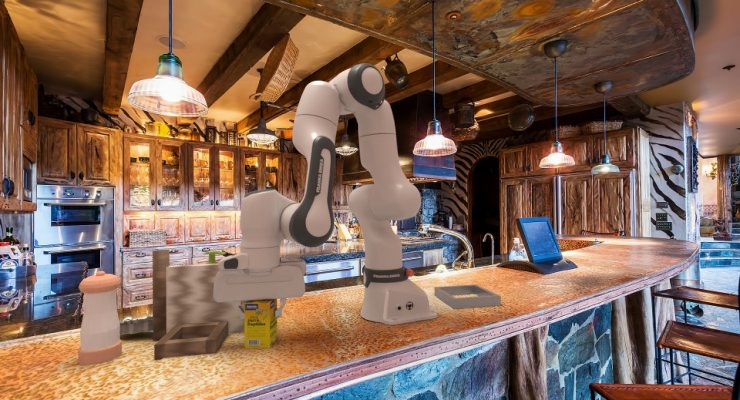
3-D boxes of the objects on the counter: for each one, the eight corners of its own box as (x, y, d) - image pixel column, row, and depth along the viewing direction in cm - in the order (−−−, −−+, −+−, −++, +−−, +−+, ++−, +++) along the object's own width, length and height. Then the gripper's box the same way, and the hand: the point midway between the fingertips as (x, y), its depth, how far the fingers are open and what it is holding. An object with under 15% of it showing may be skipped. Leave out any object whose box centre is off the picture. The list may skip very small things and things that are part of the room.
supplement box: (270, 352, 75) (270, 303, 75) (243, 352, 75) (243, 303, 75) (278, 341, 81) (277, 295, 81) (253, 341, 81) (252, 296, 81)
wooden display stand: (270, 328, 90) (269, 245, 90) (263, 354, 74) (262, 254, 75) (156, 337, 85) (156, 249, 85) (123, 367, 69) (122, 259, 70)
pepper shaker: (72, 372, 67) (71, 276, 67) (85, 357, 74) (85, 270, 74) (116, 365, 70) (116, 272, 70) (125, 351, 77) (125, 267, 77)
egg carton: (168, 326, 89) (168, 310, 90) (151, 332, 82) (151, 314, 83) (127, 330, 89) (127, 314, 89) (106, 337, 81) (106, 319, 82)
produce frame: (476, 292, 123) (475, 284, 123) (500, 305, 107) (500, 295, 107) (434, 295, 120) (434, 287, 120) (453, 309, 104) (453, 299, 104)
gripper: (306, 254, 83) (306, 310, 83) (218, 258, 80) (218, 317, 79) (306, 258, 77) (306, 319, 77) (210, 262, 73) (211, 326, 73)
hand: (261, 318), depth 78 cm, fingers closed on supplement box, 6 cm apart
